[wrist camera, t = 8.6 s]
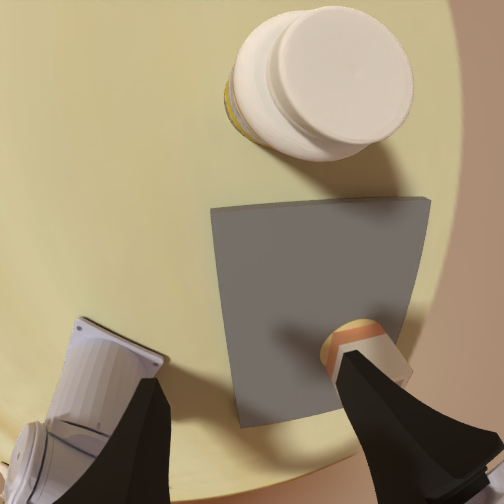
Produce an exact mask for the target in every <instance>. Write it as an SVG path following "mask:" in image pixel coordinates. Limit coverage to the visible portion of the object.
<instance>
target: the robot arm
mask: <svg viewBox="0 0 504 504" xmlns="http://www.w3.org/2000/svg"><path fill="white" fill-rule="evenodd" d="M79 326H80V327H81V328H80V327H79ZM156 363H157V364H156ZM163 363H164V358H163V356H161V355H159V354H156V353H154V352H152V351H150V350H147V349H145V348H143V347H141V346H138V345H136V344H134V343H132V342H130V341H128V340H125V339H123V338H121V337H119V336H117V335H115V334H113V333H111V332H109V331H107V330H105V329H103V328H101V327H99V326H97V325H95V324H94V323H92V322H90V321H88V320H86V319H84V318H82V317H78V318H77V320H76V322H75V325H74V328H73V332H72V335H71V339H70V342H69V346H68V349H67V353H66V357H65V361H64V365H63V369H62V374H61V377H60V379H59V382H58V384H57V387H56V390H55V392H54V395H53V398H52V401H51V404H50V407H49V409H48V412H47V416H46V419H45V422H44V423H43V424H42V423H40V422H38V421H34V422H33V423H28V424H26V425H25V426H24V427H23V429H22V431H21V432H20V434H19V436H18V438H17V441H16V443H15V446H14V449H13V452H12V455H11V458H10V462H9V467H8V473H7V479H6V483H5V487H4V498H5V504H170V494H169V477H168V475H169V456H170V441H171V412H170V405H169V403H168V401H167V399H166V397H165V395H164V393H163V390H162V388H161V386H160V384H159V382H158V379H157V378H153V377H154V376H155V374H156V373H157V372H158V370H159V369H160V367H161V366H162V365H163ZM335 384H336V387H337V390H338V394H339V397H340V400H341V403H342V405H343V408H344V410H345V412H346V414H347V416H348V418H349V420H350V423H351V425H352V427H353V429H354V431H355V433H356V435H357V437H358V439H359V441H360V444H361V446H362V448H363V451H364V453H365V456H366V459H367V463H368V466H369V469H370V472H371V476H372V480H373V483H374V487H375V492H376V496H377V501H378V504H504V460H503V461H502V462H501V463H499V464H498V465H497V466H496V467H495V468H493V469H492V470H491V471H489V472H488V473H487V474H485V471H486V470H487V466H486V465H487V464H488V463H489V462H490V461H491V460H493V459H494V458H495V457H496V456H497V455H498V454H499V453H500V452H501V451H502V450H504V444H503V442H502V441H501V439H500V437H499V436H498V434H497V433H495V432H491V431H487V430H483V429H479V428H476V427H473V426H470V425H467V424H464V423H461V422H459V421H457V420H454V419H452V418H450V417H448V416H446V415H443V414H441V413H439V412H437V411H436V410H434V409H432V408H430V407H429V406H427V405H426V404H424V403H422V402H421V401H419V400H418V399H416V398H415V397H413V396H412V395H411V394H409V393H408V392H407V391H405V390H404V389H403V388H401V387H400V386H399V385H397V384H396V383H395V382H394V381H393V380H391V379H390V378H389V377H388V376H387V375H385V374H384V373H383V372H382V371H381V370H380V369H378V368H377V367H376V366H375V365H374V364H373V363H372V362H371V361H369V360H368V359H367V358H366V357H365V356H364V355H363V354H362V353H360V352H359V351H358V350H353V351H349V352H345V353H343V356H342V360H341V364H340V368H339V372H338V376H337V380H336V383H335Z"/></svg>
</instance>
